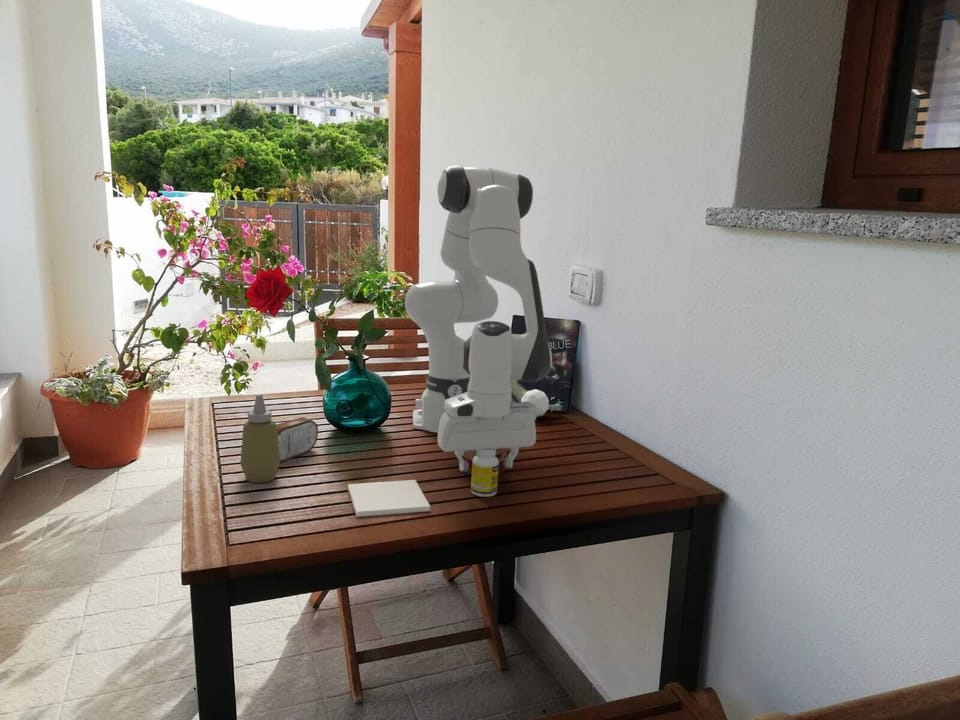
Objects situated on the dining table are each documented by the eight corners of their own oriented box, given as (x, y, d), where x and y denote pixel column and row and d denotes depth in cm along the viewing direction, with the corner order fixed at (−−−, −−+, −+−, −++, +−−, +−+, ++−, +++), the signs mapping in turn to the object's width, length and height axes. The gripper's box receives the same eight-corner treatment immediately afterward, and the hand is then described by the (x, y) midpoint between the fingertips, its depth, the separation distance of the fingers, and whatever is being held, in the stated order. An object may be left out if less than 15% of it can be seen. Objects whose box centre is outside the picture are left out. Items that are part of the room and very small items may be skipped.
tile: (347, 488, 147) (347, 484, 146) (415, 484, 151) (415, 479, 150) (356, 516, 133) (356, 511, 133) (429, 511, 138) (430, 506, 137)
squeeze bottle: (242, 487, 145) (240, 401, 141) (238, 473, 152) (236, 391, 148) (283, 483, 148) (282, 398, 144) (277, 469, 155) (276, 389, 152)
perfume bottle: (515, 399, 210) (553, 403, 213) (518, 421, 204) (558, 425, 207) (523, 382, 204) (562, 386, 207) (527, 404, 199) (567, 409, 202)
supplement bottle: (494, 499, 145) (496, 452, 143) (468, 495, 146) (470, 450, 144) (499, 489, 150) (501, 444, 148) (473, 486, 151) (475, 442, 149)
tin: (310, 446, 171) (310, 412, 170) (320, 449, 170) (320, 415, 168) (262, 464, 159) (262, 427, 157) (273, 467, 157) (272, 430, 155)
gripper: (531, 397, 150) (528, 460, 153) (436, 401, 144) (434, 466, 147) (542, 405, 144) (538, 470, 147) (444, 409, 138) (441, 477, 141)
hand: (485, 468), depth 147 cm, fingers open, 8 cm apart
